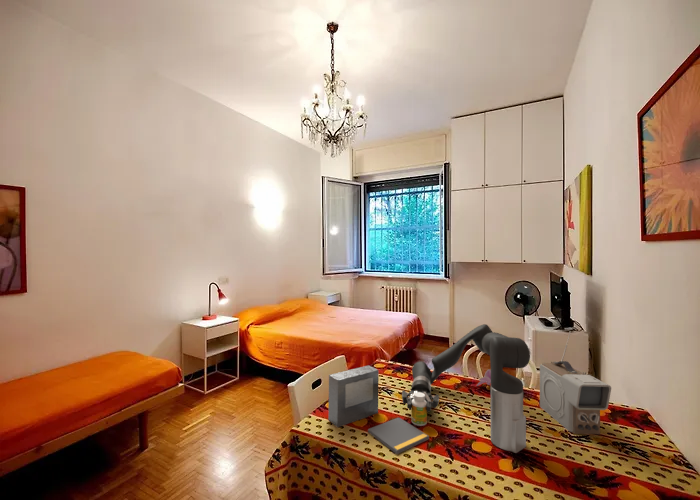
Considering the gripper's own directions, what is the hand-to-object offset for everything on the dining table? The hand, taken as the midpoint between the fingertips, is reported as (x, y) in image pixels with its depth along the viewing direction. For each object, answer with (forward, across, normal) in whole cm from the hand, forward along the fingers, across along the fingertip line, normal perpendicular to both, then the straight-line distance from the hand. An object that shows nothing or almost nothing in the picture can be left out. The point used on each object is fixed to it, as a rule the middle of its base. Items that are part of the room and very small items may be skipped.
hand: (418, 408), depth 110 cm
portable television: (-19, -53, -6) cm, 57 cm away
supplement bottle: (-3, 0, -6) cm, 7 cm away
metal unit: (0, +23, -6) cm, 24 cm away
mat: (+8, +6, -6) cm, 12 cm away
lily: (-41, -29, -6) cm, 50 cm away
